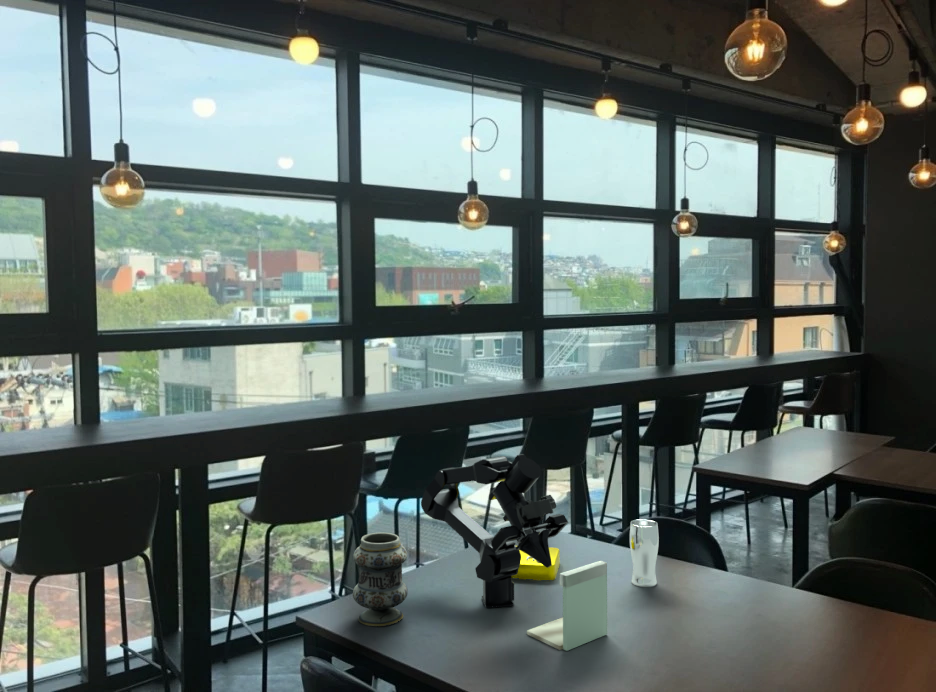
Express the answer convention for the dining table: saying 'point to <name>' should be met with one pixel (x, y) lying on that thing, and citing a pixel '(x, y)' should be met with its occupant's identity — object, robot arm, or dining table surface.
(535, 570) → the element tile
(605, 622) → the panel
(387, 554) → the apothecary jar
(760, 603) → the dining table surface
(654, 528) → the beer glass
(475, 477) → the robot arm
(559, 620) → the plate
